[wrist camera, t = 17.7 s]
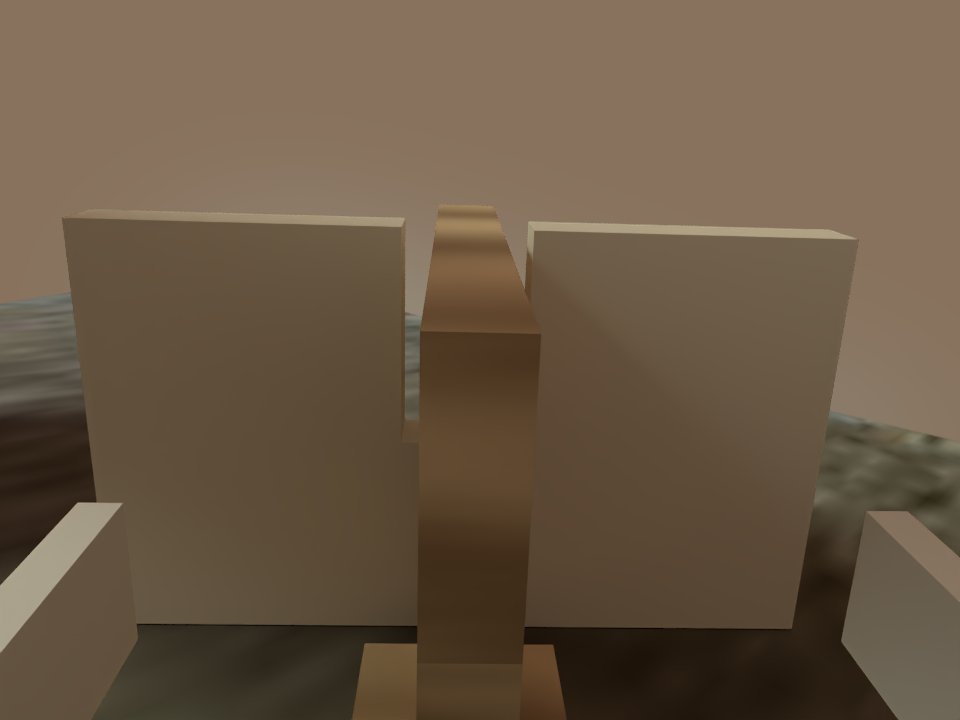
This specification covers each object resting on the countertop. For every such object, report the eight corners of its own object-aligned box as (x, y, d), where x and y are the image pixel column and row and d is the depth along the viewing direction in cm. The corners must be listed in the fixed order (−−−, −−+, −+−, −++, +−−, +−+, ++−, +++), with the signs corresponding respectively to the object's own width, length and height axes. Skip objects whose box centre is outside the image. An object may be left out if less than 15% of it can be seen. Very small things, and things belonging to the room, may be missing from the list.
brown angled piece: (597, 953, 18) (660, 336, 13) (320, 955, 17) (297, 328, 13) (528, 541, 34) (547, 208, 30) (386, 539, 34) (384, 203, 30)
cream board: (111, 623, 28) (62, 217, 24) (133, 590, 30) (90, 209, 26) (791, 629, 29) (858, 239, 25) (770, 596, 31) (830, 229, 27)
